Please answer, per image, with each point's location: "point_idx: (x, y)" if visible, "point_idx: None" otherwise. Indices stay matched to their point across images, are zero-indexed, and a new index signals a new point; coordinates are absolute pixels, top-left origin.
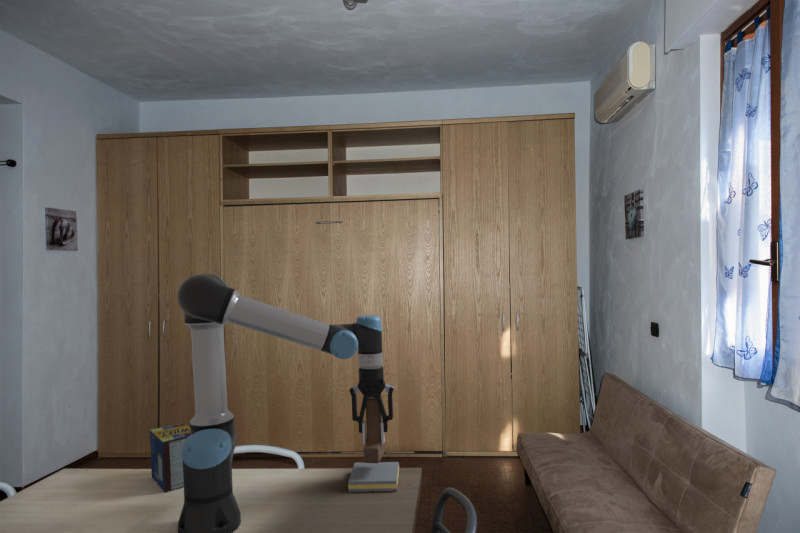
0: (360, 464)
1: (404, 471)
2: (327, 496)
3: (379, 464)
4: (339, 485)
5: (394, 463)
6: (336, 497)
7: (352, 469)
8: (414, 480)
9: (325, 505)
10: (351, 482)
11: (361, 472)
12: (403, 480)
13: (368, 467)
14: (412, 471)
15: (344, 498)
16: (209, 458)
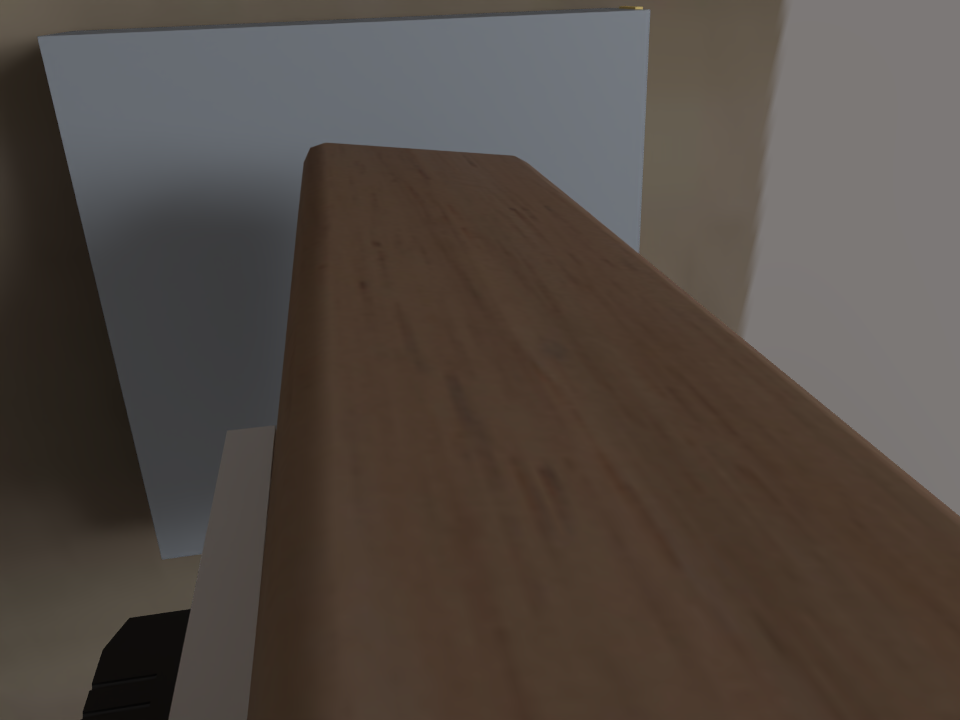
0: (149, 104)
1: (670, 9)
2: (7, 592)
3: (412, 100)
4: (26, 387)
5: (600, 68)
6: (101, 597)
7: (93, 270)
8: (753, 235)
9: (63, 712)
10: (195, 549)
11: (238, 347)
12: (654, 240)
13: (287, 202)
14: (754, 9)
15: (180, 602)
16: None
